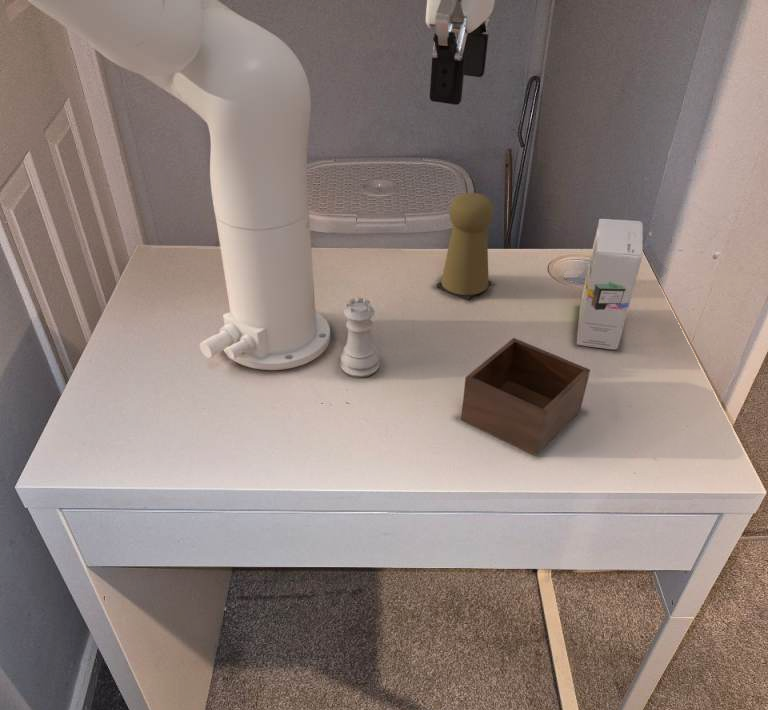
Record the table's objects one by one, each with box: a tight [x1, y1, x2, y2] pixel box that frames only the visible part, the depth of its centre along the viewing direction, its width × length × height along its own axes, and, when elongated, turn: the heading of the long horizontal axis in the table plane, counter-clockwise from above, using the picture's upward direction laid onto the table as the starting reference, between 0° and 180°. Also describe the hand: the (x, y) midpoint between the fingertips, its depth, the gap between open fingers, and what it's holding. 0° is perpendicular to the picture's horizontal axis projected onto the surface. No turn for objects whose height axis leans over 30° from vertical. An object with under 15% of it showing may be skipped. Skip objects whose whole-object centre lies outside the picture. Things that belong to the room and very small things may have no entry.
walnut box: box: [460, 337, 591, 457], centre depth 77 cm, size 9×9×5 cm
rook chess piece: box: [339, 296, 381, 379], centre depth 82 cm, size 4×4×8 cm
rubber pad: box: [436, 280, 492, 301], centre depth 97 cm, size 5×5×1 cm
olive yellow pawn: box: [440, 192, 494, 295], centre depth 93 cm, size 6×6×11 cm
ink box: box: [576, 218, 644, 351], centre depth 87 cm, size 8×5×12 cm, turn 167°
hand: (457, 88), depth 80 cm, fingers open, 9 cm apart
